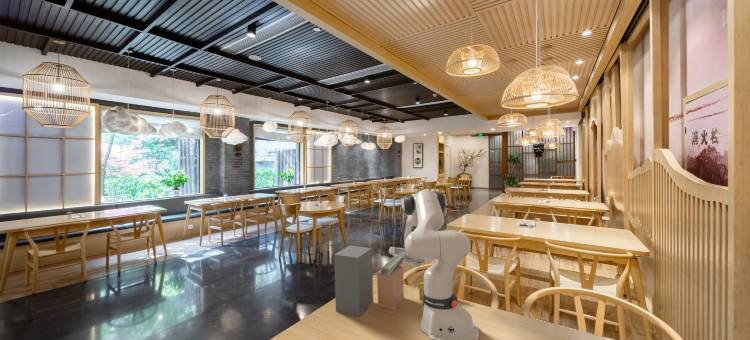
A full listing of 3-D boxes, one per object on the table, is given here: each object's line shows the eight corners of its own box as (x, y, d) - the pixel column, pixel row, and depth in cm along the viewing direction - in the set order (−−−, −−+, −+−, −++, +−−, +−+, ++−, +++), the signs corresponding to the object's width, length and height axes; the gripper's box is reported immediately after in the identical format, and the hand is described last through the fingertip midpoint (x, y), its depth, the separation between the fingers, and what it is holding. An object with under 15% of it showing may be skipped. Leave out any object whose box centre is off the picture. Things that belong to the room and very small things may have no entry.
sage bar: (403, 261, 143) (403, 255, 143) (389, 276, 126) (388, 269, 126) (395, 260, 145) (395, 254, 145) (380, 274, 128) (380, 268, 128)
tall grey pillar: (373, 301, 134) (371, 248, 133) (359, 317, 122) (357, 257, 120) (351, 297, 139) (350, 245, 138) (335, 311, 127) (334, 254, 126)
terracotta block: (403, 297, 138) (402, 266, 137) (394, 310, 126) (393, 276, 126) (388, 294, 141) (387, 264, 140) (378, 306, 130) (377, 273, 129)
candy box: (419, 300, 134) (419, 283, 134) (419, 298, 137) (418, 281, 136) (453, 300, 134) (453, 283, 134) (452, 298, 136) (452, 281, 136)
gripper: (394, 247, 166) (386, 241, 155) (428, 252, 157) (422, 245, 146) (392, 258, 163) (384, 253, 152) (427, 263, 155) (420, 258, 143)
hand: (403, 249), depth 149 cm, fingers open, 8 cm apart
